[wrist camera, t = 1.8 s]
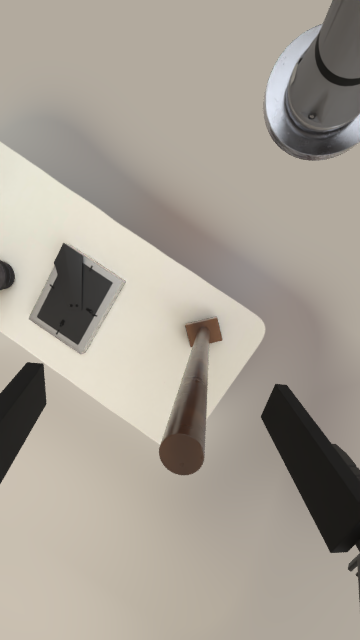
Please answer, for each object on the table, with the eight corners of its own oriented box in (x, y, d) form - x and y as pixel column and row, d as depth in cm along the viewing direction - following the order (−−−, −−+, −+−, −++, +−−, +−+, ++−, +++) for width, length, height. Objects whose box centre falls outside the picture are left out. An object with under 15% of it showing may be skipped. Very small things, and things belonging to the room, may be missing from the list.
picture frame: (71, 245, 54) (34, 317, 58) (63, 242, 51) (26, 319, 55) (125, 281, 53) (85, 352, 57) (121, 280, 50) (79, 355, 54)
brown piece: (216, 315, 51) (232, 403, 12) (221, 336, 52) (253, 487, 13) (186, 322, 52) (113, 423, 13) (192, 343, 53) (135, 499, 14)
